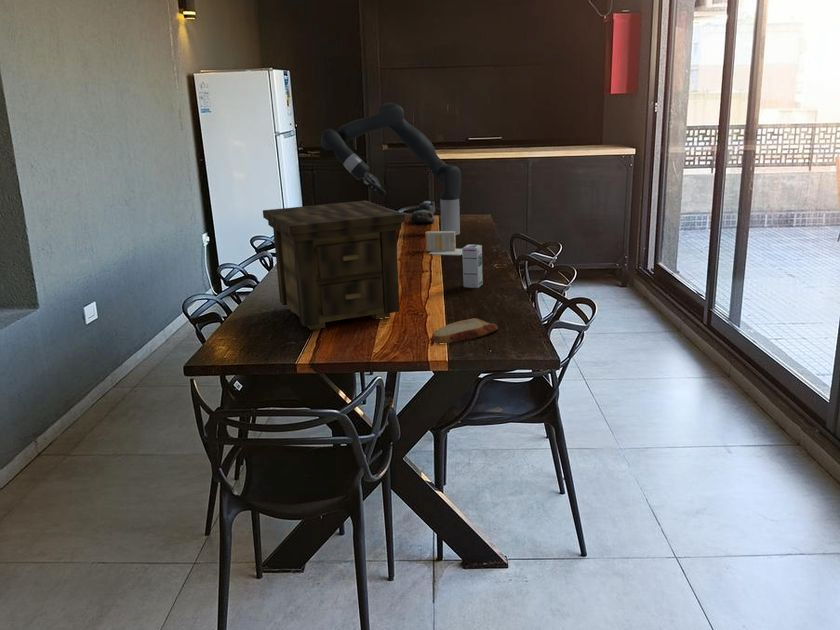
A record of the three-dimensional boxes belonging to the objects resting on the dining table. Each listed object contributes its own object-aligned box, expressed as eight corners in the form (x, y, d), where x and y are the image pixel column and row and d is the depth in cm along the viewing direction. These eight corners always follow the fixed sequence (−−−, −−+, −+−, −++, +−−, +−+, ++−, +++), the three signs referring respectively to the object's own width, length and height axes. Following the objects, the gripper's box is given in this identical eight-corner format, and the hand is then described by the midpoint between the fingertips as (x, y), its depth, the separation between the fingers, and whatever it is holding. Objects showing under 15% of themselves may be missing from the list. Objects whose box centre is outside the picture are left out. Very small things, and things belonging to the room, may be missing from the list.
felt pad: (435, 249, 326) (435, 248, 326) (475, 249, 321) (475, 248, 321) (428, 254, 315) (428, 253, 315) (469, 255, 310) (469, 254, 310)
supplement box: (426, 249, 324) (455, 249, 323) (425, 251, 319) (455, 251, 318) (425, 230, 322) (455, 230, 320) (425, 232, 317) (455, 232, 316)
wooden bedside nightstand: (371, 293, 256) (365, 200, 247) (409, 319, 226) (405, 214, 216) (272, 308, 243) (262, 210, 234) (299, 337, 213) (289, 226, 203)
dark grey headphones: (405, 222, 395) (411, 198, 397) (425, 229, 400) (430, 205, 402) (417, 218, 381) (422, 192, 383) (437, 225, 386) (442, 200, 388)
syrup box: (478, 288, 258) (478, 247, 254) (462, 287, 260) (462, 247, 256) (483, 284, 264) (482, 244, 259) (467, 283, 266) (466, 244, 261)
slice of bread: (428, 345, 203) (428, 332, 202) (439, 325, 220) (439, 313, 219) (493, 347, 200) (493, 334, 199) (499, 327, 217) (499, 314, 216)
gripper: (356, 161, 310) (385, 190, 311) (366, 158, 322) (394, 186, 323) (345, 174, 313) (374, 203, 314) (356, 171, 325) (383, 198, 326)
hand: (384, 194), depth 318 cm, fingers closed
